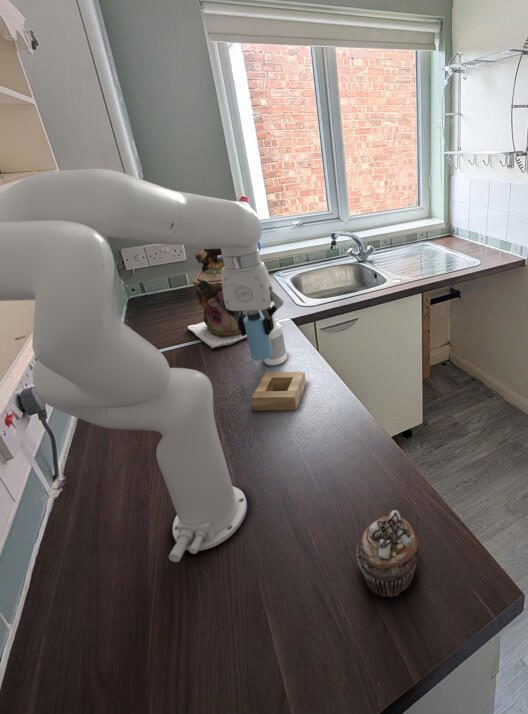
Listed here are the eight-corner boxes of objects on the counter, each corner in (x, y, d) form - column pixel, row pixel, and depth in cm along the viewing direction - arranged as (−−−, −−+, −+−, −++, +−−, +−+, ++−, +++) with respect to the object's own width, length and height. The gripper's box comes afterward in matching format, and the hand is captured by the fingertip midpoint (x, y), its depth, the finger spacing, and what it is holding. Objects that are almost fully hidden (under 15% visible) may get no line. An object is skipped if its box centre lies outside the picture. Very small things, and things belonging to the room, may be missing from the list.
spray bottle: (281, 366, 119) (271, 312, 112) (260, 365, 120) (248, 311, 114) (290, 354, 125) (281, 301, 118) (270, 353, 127) (260, 301, 120)
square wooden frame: (296, 409, 100) (294, 396, 99) (254, 410, 101) (251, 397, 100) (306, 383, 110) (304, 371, 109) (267, 384, 111) (265, 372, 110)
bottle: (269, 360, 94) (260, 316, 90) (248, 360, 95) (238, 317, 90) (275, 349, 99) (267, 307, 95) (255, 349, 99) (246, 307, 95)
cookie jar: (249, 306, 161) (232, 228, 148) (281, 324, 144) (266, 238, 132) (186, 329, 145) (161, 244, 133) (214, 353, 128) (189, 258, 116)
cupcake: (394, 529, 70) (391, 487, 66) (432, 575, 62) (431, 530, 58) (347, 565, 64) (340, 521, 61) (382, 619, 57) (378, 573, 53)
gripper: (196, 267, 84) (215, 342, 92) (275, 263, 83) (288, 339, 90) (211, 255, 91) (228, 326, 98) (285, 252, 90) (297, 323, 97)
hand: (257, 331), depth 94 cm, fingers closed on bottle, 5 cm apart
